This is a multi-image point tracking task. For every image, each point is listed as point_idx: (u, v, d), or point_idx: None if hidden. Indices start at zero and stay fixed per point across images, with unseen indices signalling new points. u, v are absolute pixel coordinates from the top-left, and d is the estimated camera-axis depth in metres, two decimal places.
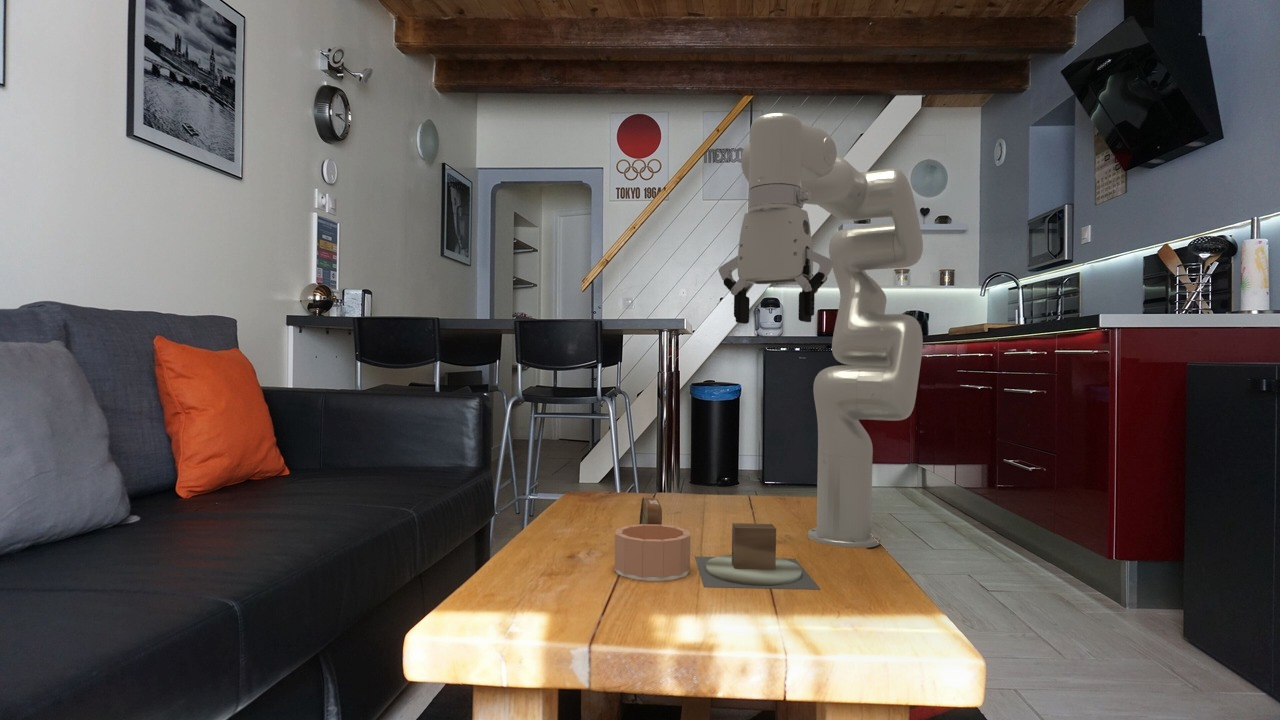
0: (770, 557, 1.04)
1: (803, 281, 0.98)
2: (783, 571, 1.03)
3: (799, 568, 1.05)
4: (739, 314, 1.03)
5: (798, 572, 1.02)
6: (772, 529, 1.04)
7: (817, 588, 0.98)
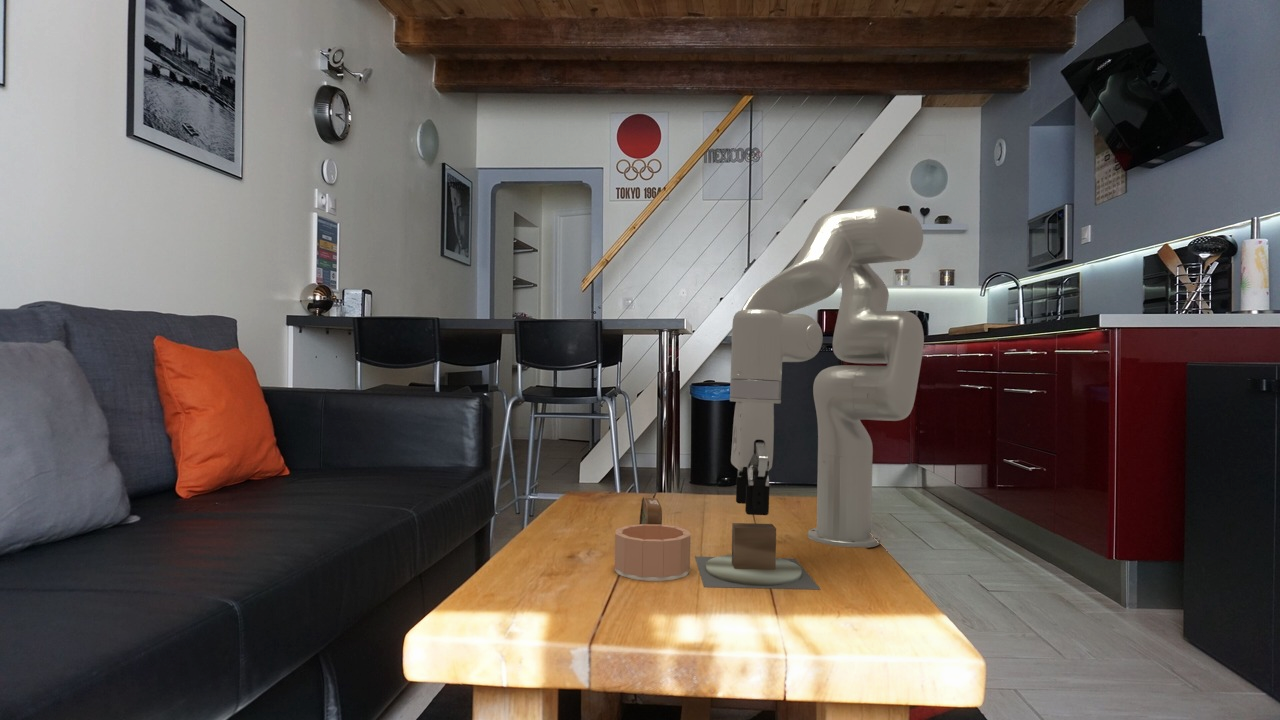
0: (770, 557, 1.04)
1: None
2: (783, 571, 1.03)
3: (799, 568, 1.05)
4: None
5: (798, 572, 1.02)
6: (772, 529, 1.04)
7: (817, 588, 0.98)
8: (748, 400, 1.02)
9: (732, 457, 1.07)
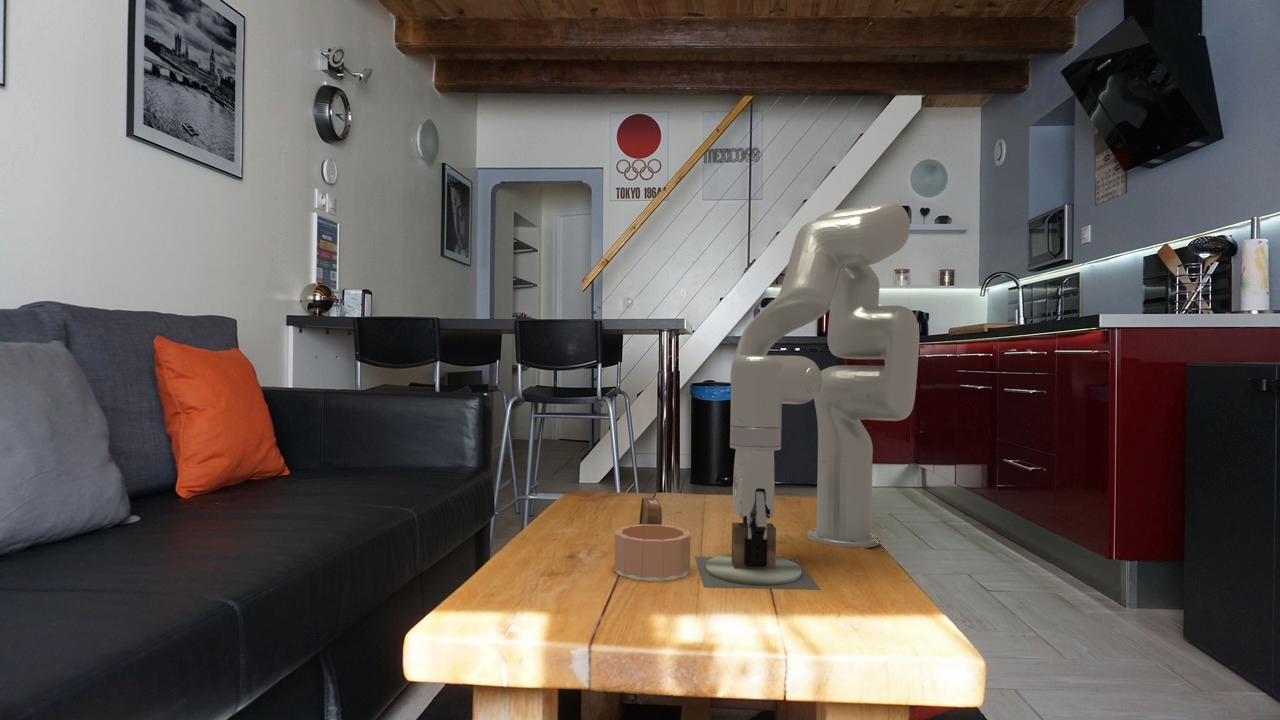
0: (770, 557, 1.04)
1: None
2: (783, 570, 1.03)
3: (799, 567, 1.05)
4: None
5: (798, 571, 1.02)
6: (772, 528, 1.04)
7: (817, 588, 0.98)
8: (748, 448, 1.02)
9: (733, 502, 1.07)
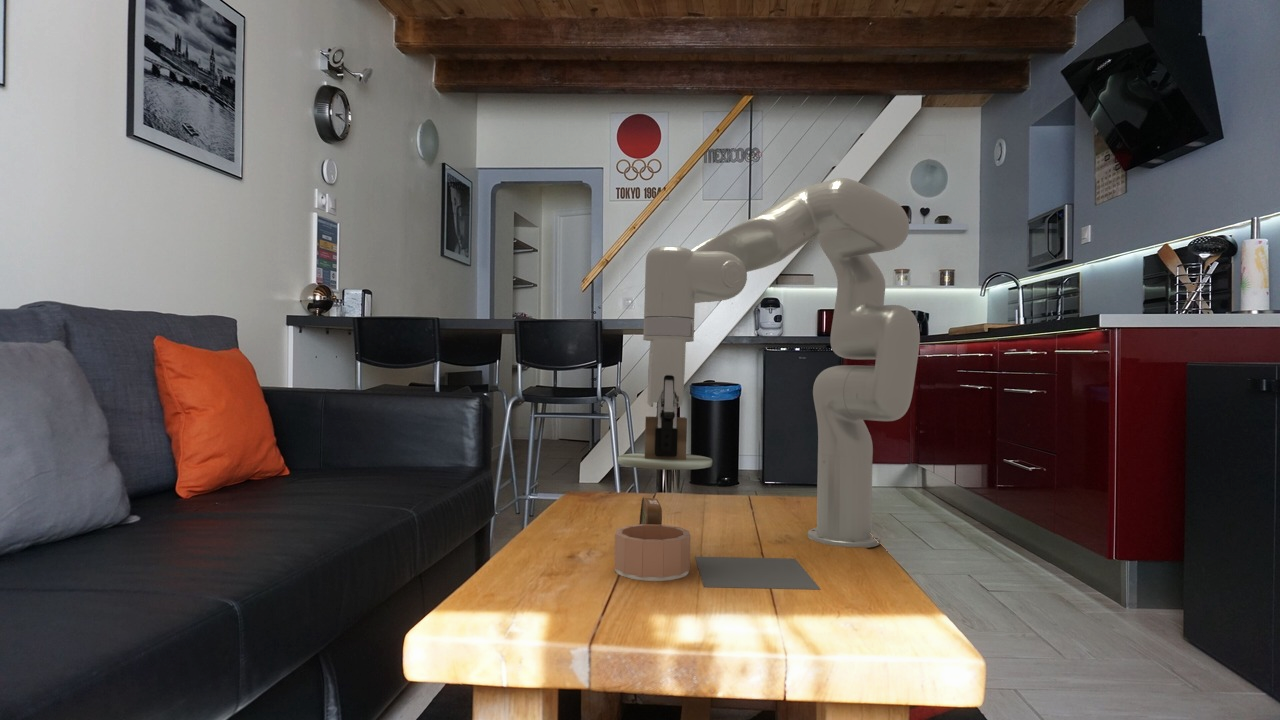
0: (681, 447, 1.04)
1: None
2: (693, 460, 1.03)
3: (710, 459, 1.05)
4: None
5: (708, 461, 1.03)
6: (683, 419, 1.04)
7: (817, 588, 0.98)
8: (659, 337, 1.02)
9: None
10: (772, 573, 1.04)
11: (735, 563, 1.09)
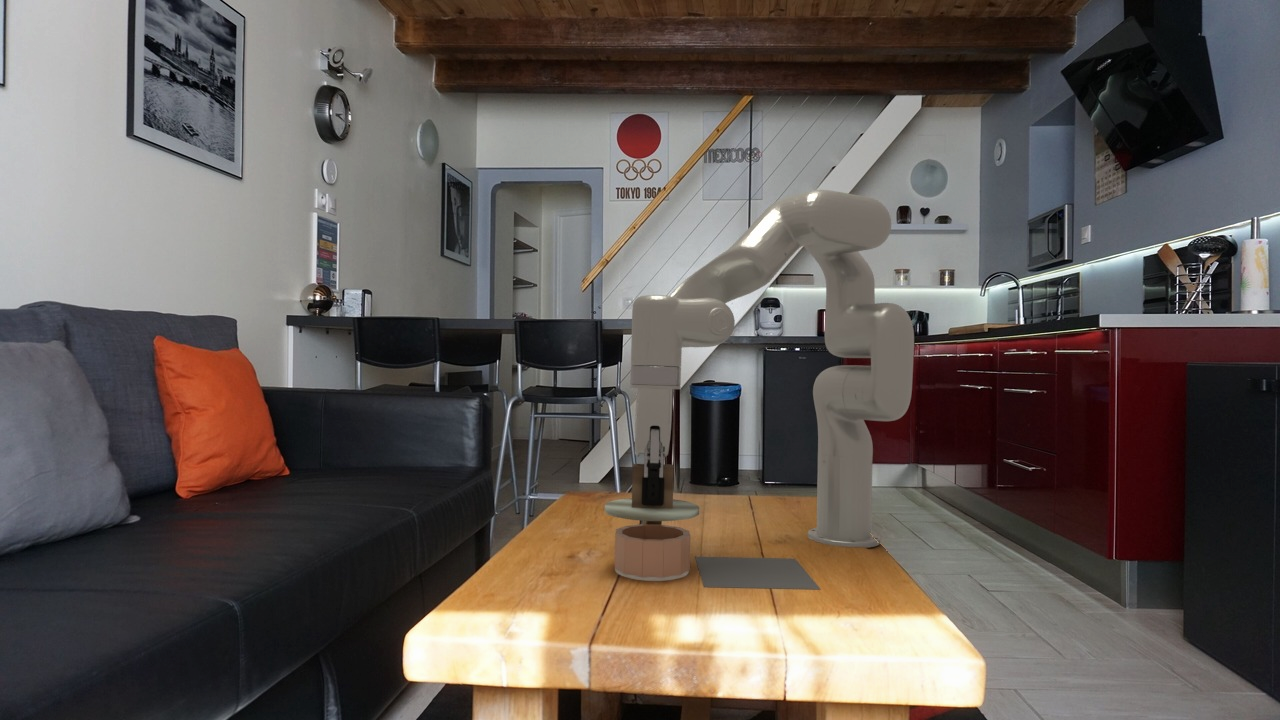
0: (667, 496, 1.04)
1: None
2: (679, 509, 1.03)
3: (697, 507, 1.05)
4: None
5: (694, 510, 1.03)
6: (669, 468, 1.04)
7: (817, 588, 0.98)
8: (645, 386, 1.02)
9: None
10: (772, 573, 1.04)
11: (735, 563, 1.09)
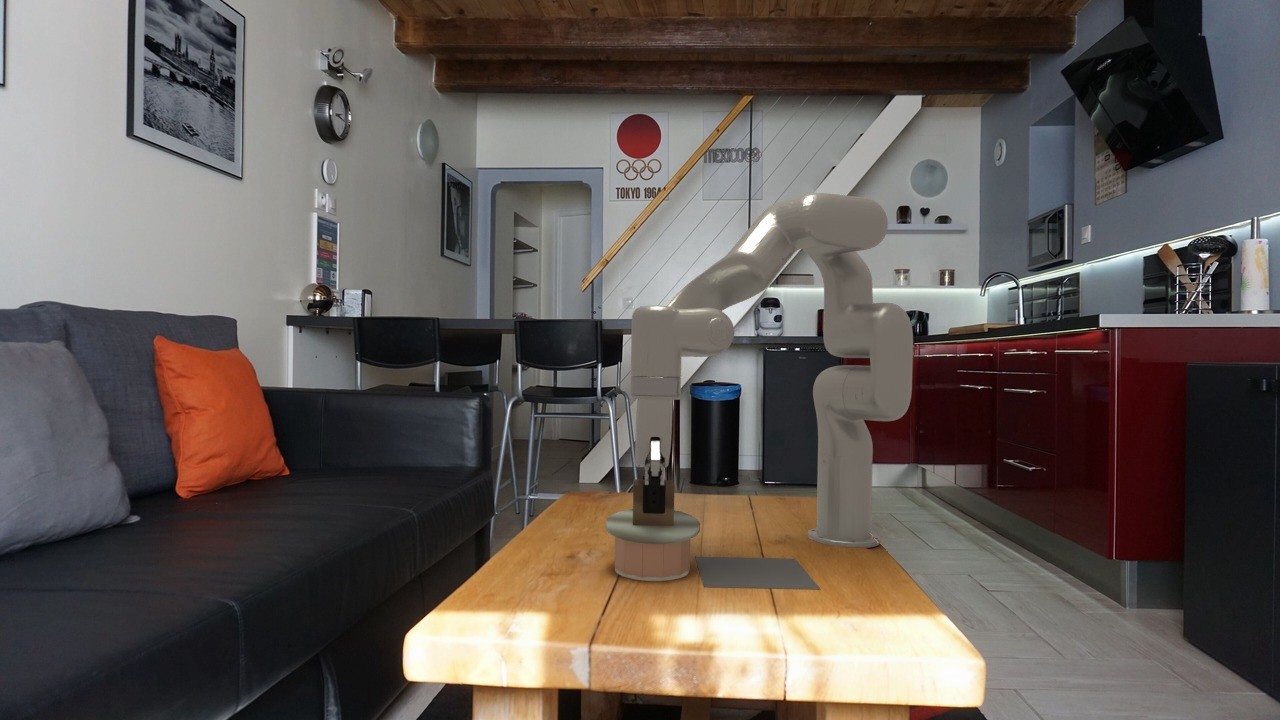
0: (668, 514, 1.04)
1: None
2: (680, 527, 1.03)
3: (698, 524, 1.05)
4: None
5: (695, 529, 1.03)
6: (670, 486, 1.03)
7: (817, 588, 0.98)
8: (645, 397, 1.02)
9: None
10: (772, 573, 1.04)
11: (735, 563, 1.09)
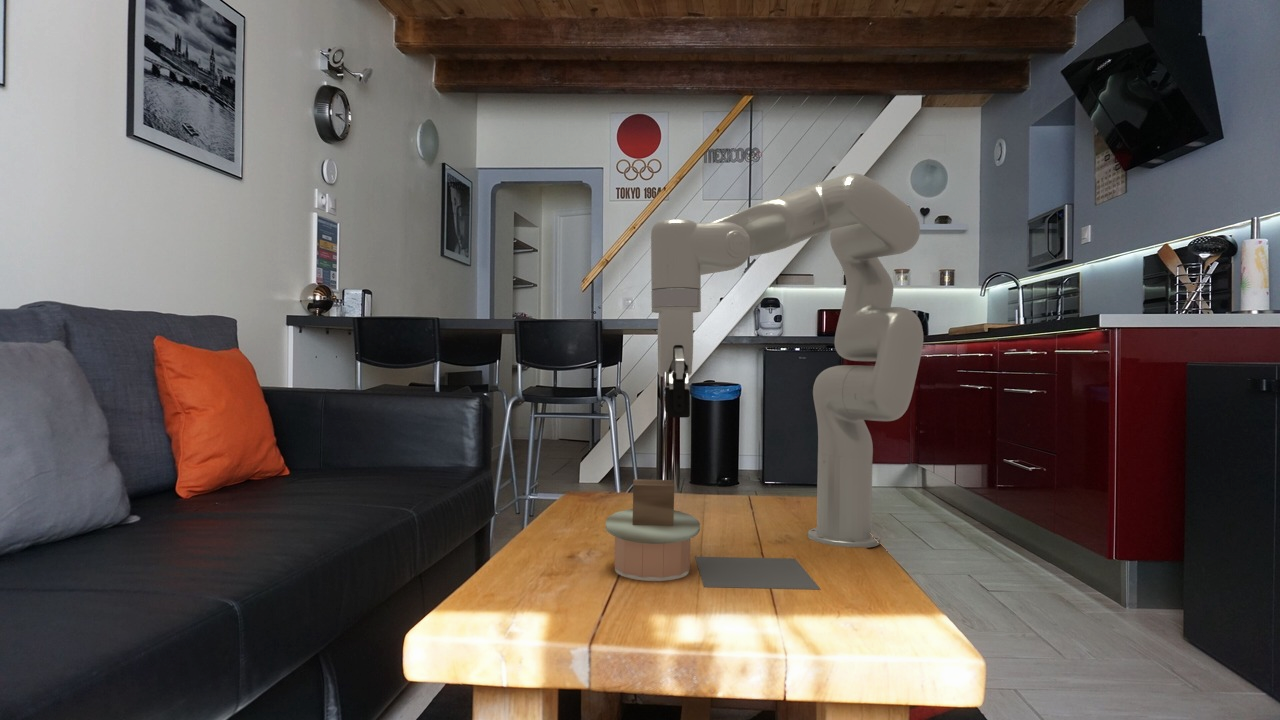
0: (668, 514, 1.04)
1: None
2: (680, 527, 1.04)
3: (698, 524, 1.05)
4: None
5: (695, 529, 1.03)
6: (670, 486, 1.04)
7: (817, 588, 0.98)
8: (667, 308, 1.05)
9: None
10: (772, 573, 1.04)
11: (735, 563, 1.09)
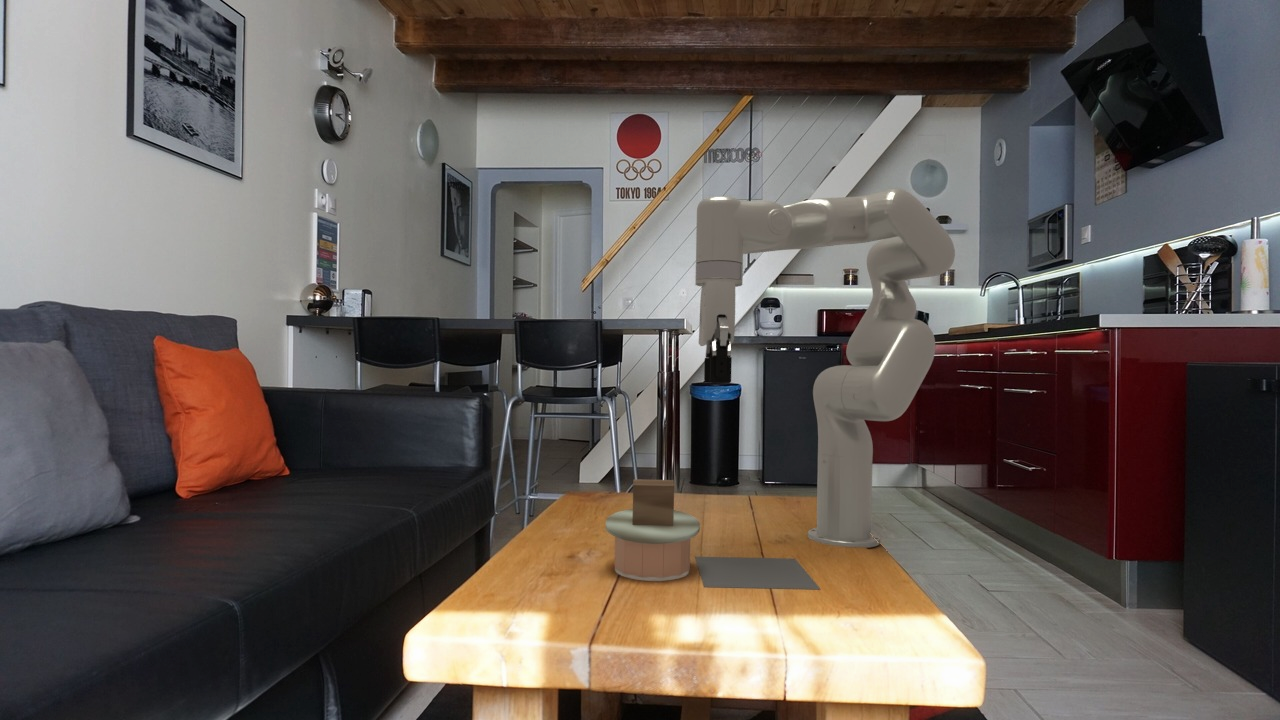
0: (668, 514, 1.04)
1: None
2: (680, 527, 1.04)
3: (698, 524, 1.05)
4: None
5: (694, 528, 1.03)
6: (670, 486, 1.04)
7: (817, 588, 0.98)
8: (711, 280, 1.11)
9: (699, 337, 1.16)
10: (772, 573, 1.04)
11: (735, 563, 1.09)
